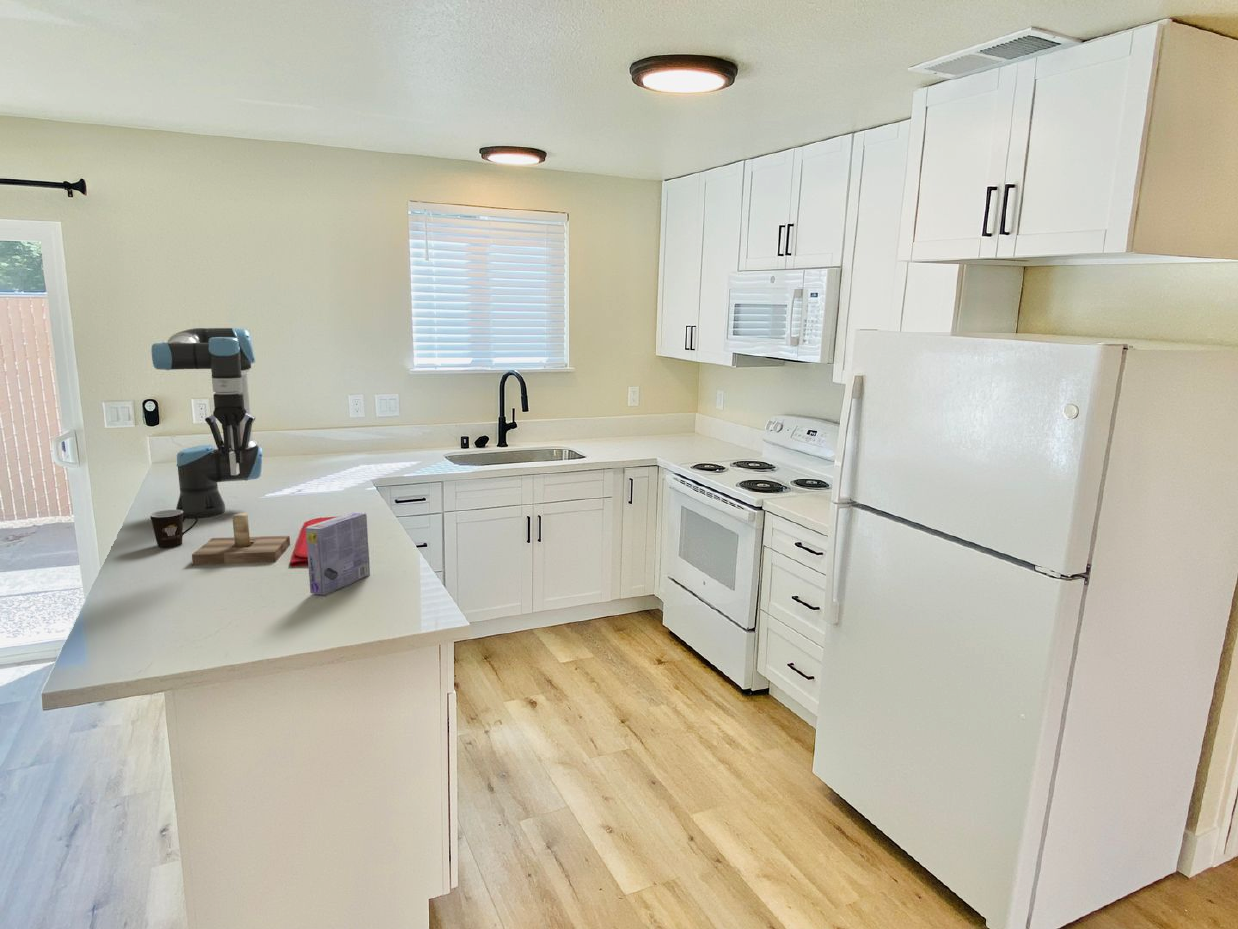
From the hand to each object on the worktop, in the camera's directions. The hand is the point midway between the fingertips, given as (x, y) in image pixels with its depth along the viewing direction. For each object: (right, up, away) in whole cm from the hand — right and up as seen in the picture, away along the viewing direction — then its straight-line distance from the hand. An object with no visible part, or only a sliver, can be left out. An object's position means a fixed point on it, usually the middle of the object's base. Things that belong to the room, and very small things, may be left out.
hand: (235, 474), depth 216 cm
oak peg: (0, -24, +4) cm, 24 cm away
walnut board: (0, -24, +4) cm, 24 cm away
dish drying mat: (+19, -23, +16) cm, 34 cm away
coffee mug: (-24, -22, +12) cm, 35 cm away
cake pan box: (+37, -29, -17) cm, 50 cm away
